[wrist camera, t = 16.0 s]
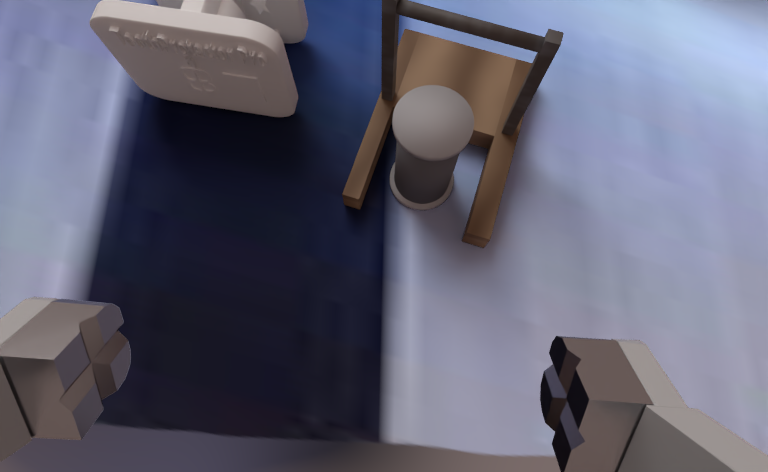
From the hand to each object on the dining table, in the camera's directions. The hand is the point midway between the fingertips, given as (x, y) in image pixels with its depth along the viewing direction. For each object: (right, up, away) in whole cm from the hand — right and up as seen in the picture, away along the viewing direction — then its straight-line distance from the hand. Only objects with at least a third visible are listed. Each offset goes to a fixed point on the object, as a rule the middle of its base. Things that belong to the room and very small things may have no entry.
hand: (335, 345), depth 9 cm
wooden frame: (+6, +11, +36) cm, 39 cm away
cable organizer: (-14, +18, +39) cm, 45 cm away
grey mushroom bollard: (+4, +7, +35) cm, 36 cm away
